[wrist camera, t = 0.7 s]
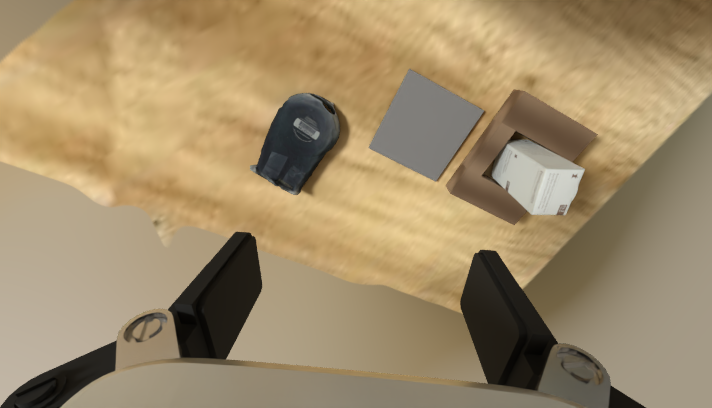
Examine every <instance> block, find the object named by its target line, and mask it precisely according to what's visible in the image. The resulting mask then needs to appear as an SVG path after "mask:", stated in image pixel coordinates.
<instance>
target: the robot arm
mask: <svg viewBox="0 0 712 408" xmlns="http://www.w3.org/2000/svg"><path fill="white" fill-rule="evenodd" d="M261 289H262V280H261V272H260V266H259V260H258V252H257V245H256V239H255V237H254V236H252V235H251V233H247V232H235V233H234V234H233V235H232V237H231V238H230V239H229V240H228V241H227V243H226V244H225V245H224V246H223V247H222V248H221V249H220V251H219V252H218V253H217V254H216V255H215V256H214V258H213V259H212V260H211V261H210V262H209V263H208V264H207V265H206V266H205V267H204V269H203V270H202V271H201V272H200V274H198V276H197V277H196V278H195V279H194V280H193V281H192V282H191V283H190V285H189V286H188V287H187V288H186V289H185V290H184V292H183V293H182V294H181V295H180V296H179V297H178V299H177V300H176V301H175V302H174V303H173V304H172V305H171V307H170V308H169V309H168V310H166V309H153V310H149V311H146V312H143V313H141V314H139V315H137V316H135V317H134V318H132V319H131V320H129V321H128V322H127V323H126V324H125V325H124V326H123V327H122V328H121V330H120V331H119V333H118V336H117V341H115V342H112V343H110V344H108V345H106V346H103V347H101V348H99V349H97V350H94V351H92V352H90V353H88V354H85V355H83V356H81V357H79V358H76V359H74V360H72V361H70V362H67V363H65V364H63V365H61V366H58V367H56V368H54V369H52V370H49V371H47V372H45V373H43V374H40V375H39V376H37V377H35V378H33V379H31V380H29V381H28V382H27V383H25V384H23V385H22V386H20V387H19V388H18V389H17V390H16V391H14V392H13V393H12V394H11V395H10V396H9V397H8V398H7V399H6V400H5V402H4V403H3V404H2V405H1V407H0V408H646V407H644V406H642V405H641V404H639V403H638V402H636V401H634V400H633V399H631V398H630V397H628V396H626V395H625V394H623V393H622V392H620V391H619V390H617V389H615V388H614V387H612V386H611V382H610V376H609V375H608V373H607V371H606V369H605V368H604V367H603V365H602V364H601V363H600V362H599V361H598V360H597V359H596V358H594V357H593V356H592V355H591V354H589V353H588V352H586V351H584V350H583V349H581V348H578V347H576V346H574V345H570V344H566V343H559V344H558V342H557V341H556V339H555V338H554V337H553V335H552V333H551V332H550V330H549V329H548V327H547V326H546V324H545V323H544V321H543V320H542V318H541V317H540V315H539V314H538V312H537V311H536V310H535V308H534V306H533V305H532V303H531V302H530V300H529V299H528V298H527V296H526V294H525V293H524V291H523V290H522V289H521V287H520V286H519V285H518V283H517V282H516V280H515V279H514V277H513V276H512V274H511V273H510V271H509V270H508V268H507V267H506V265H505V264H504V262H503V261H502V259H501V258H500V256H499V255H498V253H497V252H496V251H491V250H480V251H479V252H478V253H475V254H474V257H473V260H472V263H471V267H470V270H469V274H468V277H467V280H466V284H465V287H464V290H463V294H462V297H461V301H460V305H461V310H462V313H463V315H464V318H465V321H466V324H467V326H468V329H469V332H470V335H471V338H472V340H473V343H474V346H475V349H476V352H477V354H478V357H479V360H480V363H481V365H482V368H483V371H484V374H485V376H486V379H487V382H488V384H486V383H477V382H468V381H459V380H449V379H438V378H429V377H418V376H408V375H398V374H386V373H377V372H365V371H354V370H344V369H333V368H322V367H311V366H299V365H288V364H276V363H264V362H253V361H240V360H226V358H227V356H228V354H229V352H230V350H231V348H232V347H233V345H234V343H235V341H236V339H237V337H238V335H239V333H240V331H241V329H242V327H243V325H244V323H245V321H246V319H247V318H248V316H249V314H250V312H251V310H252V308H253V306H254V304H255V302H256V300H257V298H258V296H259V294H260V292H261Z"/></svg>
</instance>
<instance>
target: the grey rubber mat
mask: <svg viewBox="0 0 712 408" xmlns="http://www.w3.org/2000/svg"><path fill="white" fill-rule="evenodd" d="M483 112H484V110H482V109H480V108H478V107H477V106H475V105H473V104H471V103H469V102H468V101H466V100H464V99H462V98H460V97H459V96H457V95H455V94H453V93H452V92H450V91H448V90H446V89H444V88H443V87H441V86H439V85H437V84H436V83H434V82H432V81H430V80H428V79H427V78H425V77H423V76H421V75H420V74H418V73H416V72H414V71H412V70H411V69H409V70H408V72H407V74H406V76H405V78H404V80H403V82H402V84H401V86H400V88H399V90H398V92H397V93H396V95H395V97H394V99H393V101H392V103H391V105H390V107H389V109H388V111H387V113H386V115H385V117H384V119H383V121H382V122H381V124H380V126H379V128H378V130H377V132H376V134H375V136H374V138H373V140H372V142H371V144H370V146H369V148H370V149H372V150H374V151H376V152H378V153H380V154H382V155H384V156H386V157H388V158H390V159H392V160H394V161H396V162H398V163H400V164H402V165H404V166H406V167H408V168H410V169H412V170H414V171H416V172H418V173H420V174H422V175H424V176H426V177H428V178H430V179H432V180H434V181H436V180H437V179H438V178H439V176H440V175H441V173H442V172H443V170H444V169H445V167H446V166H447V164H448V163H449V162H450V160H451V159H452V157H453V156H454V154H455V153H456V151H457V150H458V148H459V147H460V145H461V144H462V143H463V141H464V140H465V138H466V137H467V135H468V134H469V132H470V131H471V129H472V128H473V126H474V125H475V124H476V122H477V121H478V119H479V118H480V116H481V115H482V113H483Z"/></svg>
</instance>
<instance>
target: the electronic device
mask: <svg viewBox="0 0 712 408" xmlns="http://www.w3.org/2000/svg"><path fill="white" fill-rule="evenodd" d="M322 102H323V103H324V104H325V105H327V106H328V108H329V109H331V112H332V113H333V114H331V113H330V112H328V111H327V109H326V108H325V107H324V105H323V103H322ZM333 104H334V103H331V102H328V101H327V100H325V99H324V98H322V97H320V96H318V95H315V94H311V93H301V94H296V95H293V96H291V97H290V98H289V99H288V101H286V102H285V103H284V104H283V106H282V107H281V108H280V109H279V110H278V112H277V114H276V116H275V118H274V120H273V122H272V124H271V126H270V129H269V131H268V134H267V136H266V139H265V142H264V145H263V148H262V150H261V155H260V158H259V161H258V164H257V165H251V166H250V170H251V171H253V172H255V173H256V174H258V175H260V176H261V177H263V178H265V179H267V180H268V181H269V182H271V183H272V184H274V185H275V186H279V187H281V189H283V190H285V191H287V192H289V193H291V194H293V195H298V194H299V193H300V192H301V188H302V187H303V185H304V184H305V182H306V181H307V180H308V178H309V177H310V176H311V175H312V173H313V171H314V170H315V168H316V167H317V165H318V164H319V162H320V161H321V160H322V158H323V157H324V155H325V154H326V152H328V151H329V150H331V149H332V148H333V146H334V145H335V143H336V141H337V139H338V138H339V133H340V124H339V119H338V116H337V114H336V111H335V109H334V107H333Z"/></svg>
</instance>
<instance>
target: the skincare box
mask: <svg viewBox="0 0 712 408" xmlns="http://www.w3.org/2000/svg"><path fill="white" fill-rule="evenodd" d="M584 171H585V169H584V168H582V167H580V166H578V165H576V164H574V163H572V162H570V161H569V160H567V159H565V158H563V157H561V156H559V155H557V154H555V153H553V152H551V151H549V150H547V149H545V148H543V147H541V146H539V145H537V144H535V143H533V142H532V141H530V140H508V142H507V143H506V144H505V146H504V147H503V148H502V149H501V151H500V152H499V153H498V155H497V156H496V157H495V160H494V164H493V169H492V177H493V178H494V179H495V180H496V181H497V182H498V183H499V184H500V185H501V186H502V187H503V188H504V189H505V190H506V191H507V192H508V193H509V194H510V195H511V196H512V197H514V198H515V199H516V200H517V201H518V202H519V203H520V204H521V205H522V206H523V207H524V208H525V209H526V210H527V211H528V212H529V213H530V214H531V215H566V213H567V211H568V209H569V206H570V204H571V202H572V200H573V199H574V197H575V195H576V193H577V191H578V185H579V183H580V180H581V178H582V175H583V173H584Z"/></svg>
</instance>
